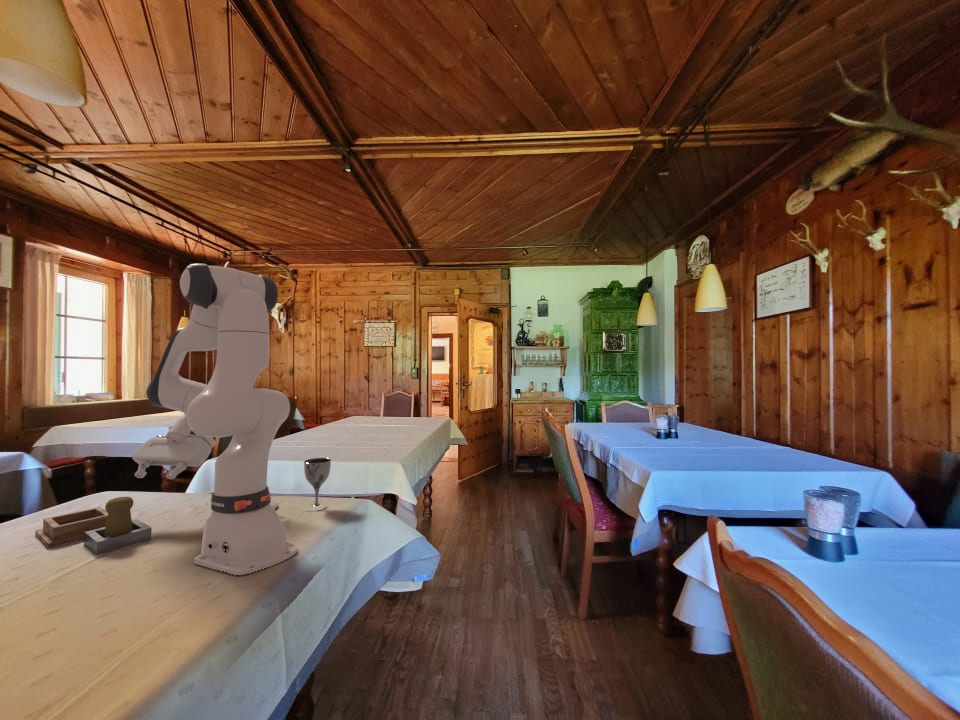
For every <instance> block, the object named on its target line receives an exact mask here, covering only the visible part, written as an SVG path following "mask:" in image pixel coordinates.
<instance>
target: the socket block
mask: <svg viewBox="0 0 960 720" xmlns="http://www.w3.org/2000/svg"><path fill="white" fill-rule="evenodd" d="M132 526H133V531H130V532H126V533H122V534H118V535H114V536H110V537H106V538H103V535H104V531H105V527H103V528H99V529H95V530H91V531H87V532H84V539H83V545H84V546H85V547H86V548H87V549H89V550H90V551H91V552H93V554H95V555H96V556H99V555H101V554H104V553H108V551H109V552H111V551H115V550H119V549H122V548H127V547H129V546H132V545H136V544H139V543H144V542H148V541H150V540H152V526H150V525H148V524H146V523H145V522H143V521H141V520H139V519H132Z"/></svg>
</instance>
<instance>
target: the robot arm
mask: <svg viewBox="0 0 960 720" xmlns="http://www.w3.org/2000/svg"><path fill="white" fill-rule="evenodd" d="M179 287H180V288H179V289H180V290H181V291H180V292H181V294H182V297H183V298H184V299H185V300H186V301H187V302H188V303H190V304H192V309H191V312H190V317H189V320H188V323H187V324H186V326H185V327H180V328H178V329H177V330H175V331H174V332H173V334H172V335H171V337H170V338H169V341H168V342H167V345H166V347H165V350H164V352H163V355H162V357H161V359H160V362H159V365H158V367H157V369H156V372H155V373H154V376H153V378H152V379H151V381H150V382H149V384H148V386H147V388H146V391H145V394H146V398H147V400H148V401H149V403H150V405H152V406H153V407H156V408H157V407H158V408H163V409H169V410H173V411H176V412H181V413H183V416H181V417H180V418H179V419H177V421H176V422H174V424H173V425H172V426H171V428H170V429H169V430H168V431H167V432H166V434H165V435H161V434H160V435H158V434H157V435H156V436H154V437H151V438H149V439H148V440H146V441H145V442H144V443H143V444H141V446H140V447H139V448H138V449H137V450H136V451H135V452H134V453H133V454H132V460H133V461H134V462H135V463H137V465H138V468H137V471H136V472H134V477H136V478H137V479H143V478H145V477H146V475H147V474H148V472H147V471H146V469H147V468H149V467H150V466H167V467H168V466H170V467H175V468H173V469H172V470H168V472H167V473H166V474H165V478H167V480H174V479H175V478H176V477H177V476H178V475H180V473H182V472H183V471H185V470H186V469H188V468H187V467H195V468H196V467H197V468H198V467H200V466H201V465H203V464H204V463H205V462H206V461H207V459H208V458H209V456H210V454H211V453H212V448H214V447H215V446H216V444H217V441H216V440H215V439H214V438H225V437H231V436H232V438H231V440H230V442H229V444H228V446H227V447H226V449H224V450H223V452H222V453H221V454H219V456H217V458H216V460H215V463H214V477H213V478H214V480H213V481H214V483H213V492H212V493H211V498H210V509H211V514H210V515H209V517H208V518H207V520H206V521H204V524H203V532H202V538H201V539H202V540H201V546H200V548H201V549H200V553H199V554H197V555H196V556H195V557H194V558H193V559H194V561H193V564H195V565H198V566H200V567H201V566H202V567H204V568H208V569H212V570H215V571H218V570H219V572H222V571H224V572H223V573H225V572H227V573H226V574H229V573H230V574H229V575H232V574H233V576H236V575H239V576H243V575H245V576H246V575H247V574H252V572H253V573H256V572H259V571H262V570H265V569H268V568H270V567H272V566H275V565H277V564H280V563H283V562H284V561H286V560H287V559H289V558H291V557H292V556H293V557H294V555H296V554H297V552H298V548H297V546H296V545H294V543H292V542H291V541H290V540H288V538H287V531H286V530H287V529H286V528H287V526H288V522H287V520H286V519H284V518H283V519H281V518H280V517H279V515H278V513H277V511H276V510H275V511H274V509H273V508H272V506H271V504H270V502H271V500H272V498H271V497H272V494H271V492H270V490H269V486H268V485H267V481H268V468H269V467H268V466H269V455H270V450H271V448H272V445H273V441H274V439H275V437H276V434H277V432H278V430H279V429H280V428H281V425H283V424H284V422H285V421H286V420H287V419H288V417H289V415H290V413H291V412H290V411H291V403H290V400H289V397H287V396H286V394H285V393H284V392H282V391H279V390H276V389H271V388H264V387H262V388H261V387H260V388H254V387H255V384H256V383H255V382H256V380H257V378H258V376H259V375H260V373H261V372H262V371H264V370H265V369H267V367H268V366H269V363H270V322H269V321H270V320H269V313H270V312H271V311H273V309H275V307H276V305H277V303H278V298H279V288H278V286H277V284H276V282H275V281H274V280H273V279H272V278H270V277H267V276H265V275H262V274H254V273H252V272H248V271H244V270H238V269H236V268H233V267H228V266H227V267H226V266H225V267H224V266H219V265H218V266H217V265H208V264H206V263H190V264H189V265H188V266H186V267H185V268H184V269H183V272H182V273H181V276H180V279H179ZM211 351H216V360H215V361H216V362H215V367H214V371H213V373H212V375H211V377H210V380H209V381H208V383H207V384H206V383H203V382H197V381H195V380H191V379H188V378H184V377H183V376H181V375H180V374H179V372H180V369H181V367H182V365H183V362H184V360H185V358H186V356H187V353H189V352H211ZM267 567H268V568H267ZM264 568H265V569H264ZM261 569H262V570H261ZM258 570H259V571H258ZM255 571H256V572H255Z"/></svg>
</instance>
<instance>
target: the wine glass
mask: <svg viewBox="0 0 960 720" xmlns="http://www.w3.org/2000/svg"><path fill="white" fill-rule="evenodd" d="M331 463H332V459H331V458H328V457H314V458H309V459H305V460H304V461H303V471H304V472H303V473H304V477H305V479H306V481H307V483H309V485H311V486H312V488H313V490H314V496H315V499H314V505H313V504H311V505H312V506H314V507H315V506H319V505H320V504H321V503H319V492H320V489H321V487H322V486H323V484H324V483H325V482H326V480H328V478H329V475H330V472H331V465H332V464H331Z"/></svg>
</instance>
